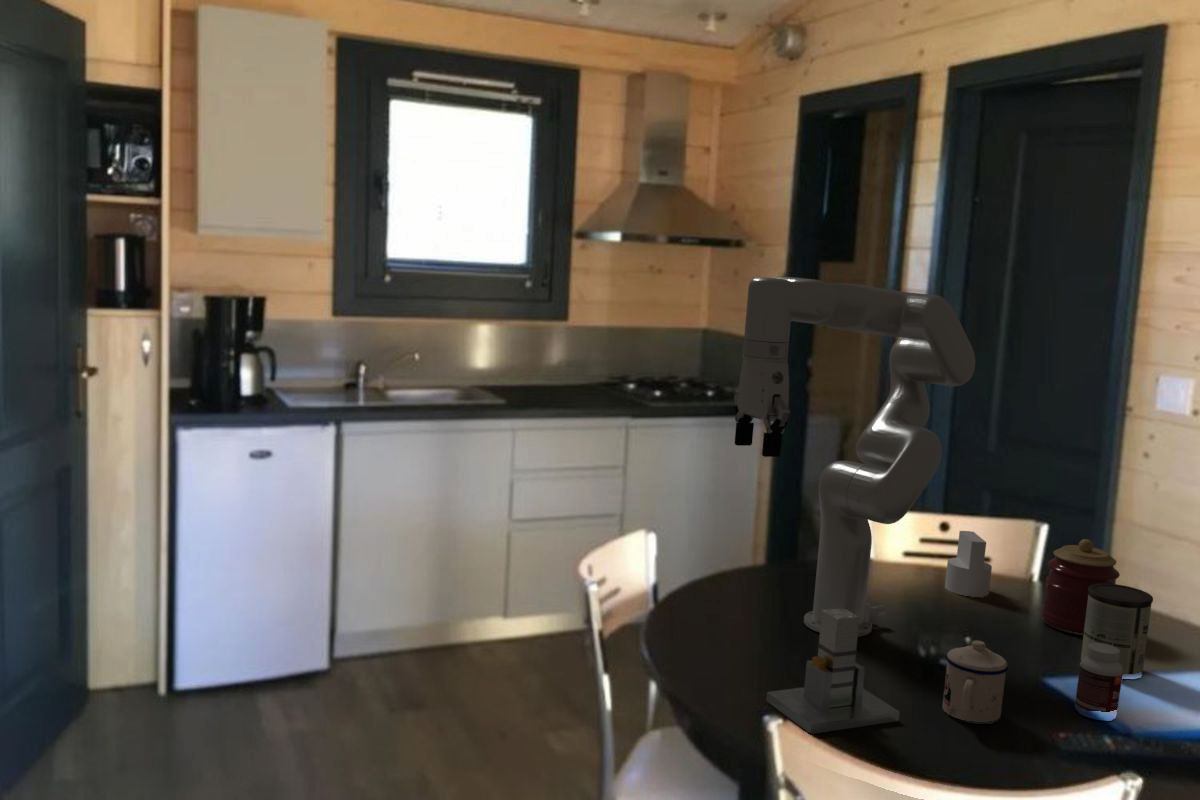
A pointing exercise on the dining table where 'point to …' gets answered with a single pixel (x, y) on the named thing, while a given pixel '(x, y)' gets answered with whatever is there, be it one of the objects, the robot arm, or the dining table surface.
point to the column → (839, 652)
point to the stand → (814, 700)
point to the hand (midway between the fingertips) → (756, 450)
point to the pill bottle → (1099, 679)
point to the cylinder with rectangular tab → (969, 567)
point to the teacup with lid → (974, 683)
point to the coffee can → (1118, 622)
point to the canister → (1074, 583)
